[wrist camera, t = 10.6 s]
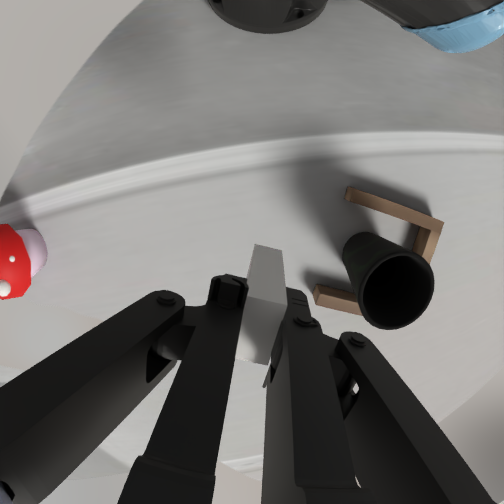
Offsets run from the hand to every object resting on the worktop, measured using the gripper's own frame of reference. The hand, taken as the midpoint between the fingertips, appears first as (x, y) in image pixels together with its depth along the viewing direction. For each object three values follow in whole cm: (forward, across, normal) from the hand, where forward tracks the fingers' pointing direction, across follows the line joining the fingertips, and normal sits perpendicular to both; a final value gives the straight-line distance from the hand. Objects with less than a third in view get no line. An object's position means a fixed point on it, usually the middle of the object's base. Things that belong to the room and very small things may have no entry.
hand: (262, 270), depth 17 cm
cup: (+20, +13, -2) cm, 24 cm away
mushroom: (+20, -34, -13) cm, 41 cm away
